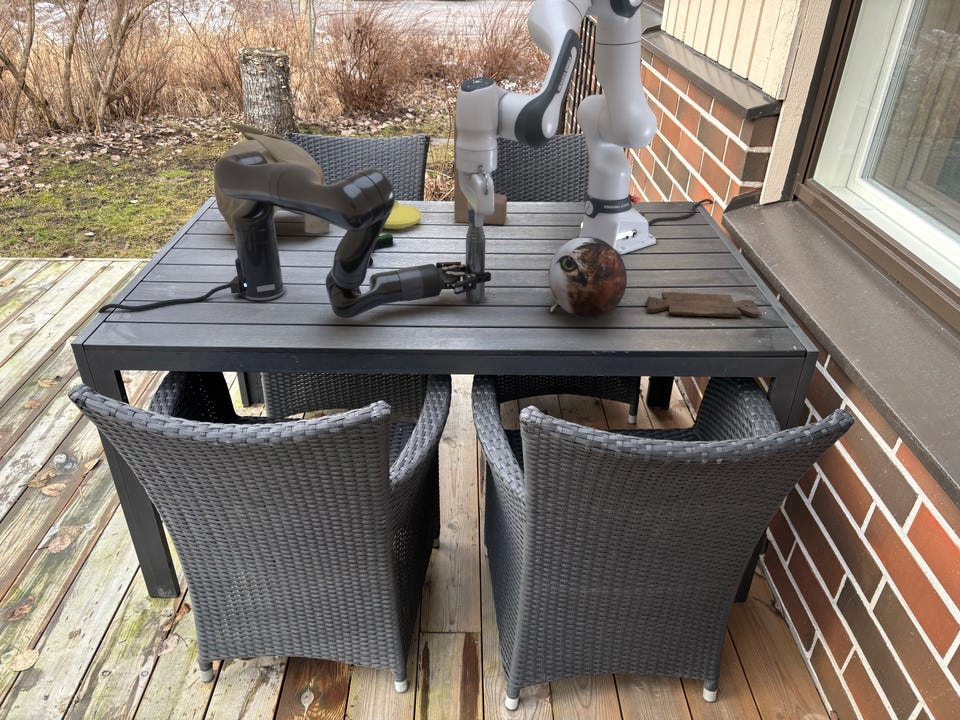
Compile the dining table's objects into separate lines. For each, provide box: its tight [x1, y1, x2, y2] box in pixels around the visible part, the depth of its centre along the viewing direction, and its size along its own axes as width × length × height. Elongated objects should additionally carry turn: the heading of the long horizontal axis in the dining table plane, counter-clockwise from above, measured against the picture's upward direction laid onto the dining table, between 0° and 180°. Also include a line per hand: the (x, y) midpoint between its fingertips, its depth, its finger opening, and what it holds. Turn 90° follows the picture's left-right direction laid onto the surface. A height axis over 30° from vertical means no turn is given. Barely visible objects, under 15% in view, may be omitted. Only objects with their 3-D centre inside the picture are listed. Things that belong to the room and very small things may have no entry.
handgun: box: [368, 233, 394, 267], centre depth 191 cm, size 16×3×15 cm
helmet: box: [213, 123, 331, 235], centre depth 198 cm, size 27×30×30 cm
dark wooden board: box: [646, 291, 762, 318], centre depth 167 cm, size 26×2×10 cm
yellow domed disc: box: [383, 199, 423, 230], centre depth 210 cm, size 16×16×7 cm
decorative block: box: [453, 118, 508, 226], centre depth 209 cm, size 8×15×30 cm, turn 82°
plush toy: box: [547, 236, 628, 319], centre depth 161 cm, size 22×18×20 cm
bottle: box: [464, 223, 487, 305], centre depth 164 cm, size 4×4×21 cm
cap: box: [467, 209, 484, 224], centre depth 159 cm, size 4×4×2 cm
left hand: (485, 272), depth 167 cm, fingers closed on bottle, 4 cm apart
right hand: (475, 221), depth 160 cm, fingers closed on cap, 4 cm apart
